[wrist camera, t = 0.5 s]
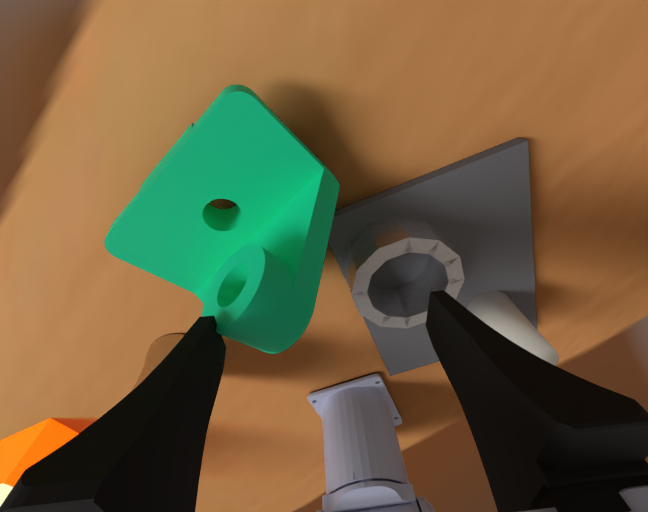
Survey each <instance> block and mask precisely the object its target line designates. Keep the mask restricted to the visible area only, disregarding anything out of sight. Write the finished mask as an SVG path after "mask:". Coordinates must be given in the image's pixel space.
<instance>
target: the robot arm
mask: <svg viewBox="0 0 648 512" xmlns="http://www.w3.org/2000/svg"><path fill="white" fill-rule="evenodd" d="M216 328H217V322H216V320H215V317H214V315H213V316H204V317H199V319H198V320H197V321H196V322H195V323H194V324H193V326H192V327H191V328H190V329H189V330H188V332H187V333H186V334H185V335H184V336H183V338H182V339H181V340H180V341H179V342H178V343H177V345H176V346H175V347H174V348H173V349H172V350H171V351H170V353H169V354H168V355H167V356H166V357H165V358H164V359H163V360H162V361H161V363H160V364H159V365H158V366H157V367H156V368H155V369H154V370H153V371H152V372H151V373H150V374H149V375H148V376H147V377H146V378H145V379H144V380H143V381H142V382H141V383H140V384H139V385H138V386H137V387H136V388H135V389H134V390H132V391H131V392H130V393H129V394H128V395H127V396H126V397H125V398H124V399H122V400H121V401H120V402H119V403H118V404H116V405H115V406H114V407H113V408H112V409H110V410H109V411H108V412H107V413H105V414H104V415H103V416H102V417H101V418H99V419H98V420H97V421H96V422H94V423H93V424H92V425H90V426H89V427H88V428H86V429H85V430H84V431H82V432H81V433H79V434H78V435H77V436H75V437H74V438H72V439H71V440H70V441H68V442H67V443H65V444H64V445H62V446H61V447H59V448H58V449H56V450H55V451H53V452H52V453H50V454H49V455H47V456H46V457H44V458H43V459H41V460H40V461H38V462H37V463H35V464H33V465H32V466H30V467H29V468H27V469H25V471H24V472H23V474H22V475H21V476H20V478H19V479H18V481H17V482H16V484H15V485H14V487H13V488H12V490H11V491H10V493H9V494H8V496H7V497H6V499H5V500H4V502H3V503H2V505H1V506H0V512H195V507H196V499H197V491H198V483H199V476H200V470H201V463H202V456H203V450H204V445H205V439H206V433H207V429H208V424H209V420H210V416H211V413H212V409H213V406H214V402H215V398H216V395H217V391H218V387H219V384H220V380H221V376H222V372H223V367H224V360H225V352H226V346H225V344H224V341H223V338H222V336H221V335H220V334H219V333H217V332H216ZM426 328H427V331H428V334H429V337H430V340H431V343H432V346H433V348H434V350H435V352H436V354H437V356H438V358H439V360H440V362H441V364H442V366H443V368H444V370H445V372H446V374H447V376H448V378H449V380H450V382H451V384H452V386H453V388H454V390H455V392H456V394H457V396H458V399H459V401H460V403H461V406H462V408H463V411H464V413H465V416H466V419H467V421H468V424H469V426H470V429H471V431H472V435H473V437H474V440H475V442H476V446H477V448H478V451H479V454H480V457H481V460H482V463H483V466H484V469H485V472H486V475H487V478H488V481H489V484H490V487H491V491H492V494H493V497H494V500H495V503H496V506H497V510H498V512H648V463H647V462H646V461H645V460H644V459H645V458H646V457H647V456H648V412H647V411H646V410H645V409H644V408H643V407H642V406H641V405H640V404H639V403H638V402H636V401H635V400H634V399H631V398H629V397H626V396H624V395H621V394H619V393H616V392H613V391H611V390H608V389H606V388H603V387H600V386H598V385H596V384H593V383H591V382H589V381H587V380H584V379H582V378H580V377H578V376H575V375H573V374H571V373H569V372H567V371H565V370H563V369H561V368H559V367H557V366H555V365H553V364H551V363H549V362H547V361H545V360H543V359H541V358H539V357H537V356H536V355H534V354H532V353H530V352H529V351H527V350H525V349H524V348H522V347H520V346H519V345H517V344H515V343H514V342H512V341H511V340H509V339H507V338H506V337H504V336H503V335H502V334H500V333H499V332H497V331H496V330H494V329H493V328H491V327H490V326H489V325H487V324H486V323H485V322H483V321H482V320H480V319H479V318H478V317H477V316H475V315H474V314H473V313H471V312H470V311H469V310H468V309H466V308H465V307H464V306H463V305H461V304H460V303H459V302H458V301H457V300H455V299H454V298H453V297H452V296H450V295H449V294H448V293H447V292H445V291H444V290H441V291H432V292H430V295H429V303H428V311H427V319H426ZM308 400H309V402H310V403H311V405H312V406H313V407H314V409H315V410H316V411H317V413H318V414H319V415H320V417H321V418H322V421H323V440H324V460H325V479H326V495H323V497H322V498H323V510H317V511H316V512H435V510H434V508H433V506H432V505H431V504H430V503H429V502H428V501H427V500H426V499H425V498H424V497H423V496H418V497H416V498H415V494H414V490H413V486H412V484H411V483H410V484H409V483H408V478H407V474H406V470H405V466H404V462H403V458H402V454H401V450H400V446H399V442H398V438H397V434H396V430H395V426H397V425H400V424H402V419H401V416H400V414H399V412H398V410H397V408H396V406H395V404H394V402H393V400H392V398H391V396H390V394H389V392H388V390H387V388H386V386H385V384H384V382H383V380H382V378H381V376H380V374H372V375H369V376H366V377H362V378H359V379H356V380H353V381H349V382H346V383H343V384H339V385H336V386H333V387H330V388H326V389H323V390H320V391H317V392H313V393H310V394H309V395H308Z"/></svg>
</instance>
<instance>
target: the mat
mask: <svg viewBox="0 0 648 512" xmlns="http://www.w3.org/2000/svg"><path fill="white" fill-rule="evenodd" d="M392 214H403V215H412V216H421V217H422V218H423V219H425V220H426V221H427V222H428V223H430V224H431V225H432V226H433V227H435V228H436V229H437V230H438V231H439V232H440V233H441V234H442V235H443V237H444V238H445V239H446V240H447V241H448V243H449V244H450V245H451V246H452V247H453V249H454V250H455V251H456V252H457V254H458V255H459V256H460V259H461V264H462V269H463V274H464V279H465V280H464V282H463V285H462V287H461V289H460V291H459V293H458V296H457V298H456V300H457V301H458V302H459V303H460V304H461V305H463V306H464V307H465V308H467V305H468V304H469V302H470V301H471V300H472V299H473V298H474V297H476V296H477V295H479V294H481V293H484V292H487V291H500V292H503V293H504V294H506V295H507V297H508V298H509V299H510V300H511V301H512V302H513V303H514V304H515V306H516V307H517V308H518V309H519V310H520V311H521V312H522V314H523V315H524V316H525V317H526V318H527V319H528V320H529V321H530V323H531V324H532V325H533V326H534V327H535V328H536V329H537V312H536V292H535V272H534V252H533V232H532V212H531V192H530V172H529V152H528V140H525V139H522V138H519V137H518V138H515V139H513V140H510V141H508V142H505V143H503V144H500V145H498V146H495V147H493V148H490V149H488V150H485V151H483V152H480V153H478V154H475V155H473V156H470V157H468V158H465V159H463V160H460V161H458V162H455V163H453V164H450V165H448V166H445V167H443V168H440V169H438V170H435V171H433V172H430V173H428V174H425V175H423V176H420V177H418V178H415V179H413V180H410V181H408V182H405V183H403V184H400V185H398V186H395V187H393V188H390V189H388V190H385V191H383V192H380V193H378V194H375V195H373V196H370V197H368V198H365V199H363V200H360V201H358V202H355V203H353V204H350V205H348V206H345V207H343V208H340V209H338V210H335V212H334V217H333V221H332V226H331V231H330V236H329V240H328V242H329V244H330V246H331V249H332V251H333V253H334V255H335V257H336V259H337V262H338V264H339V266H340V268H341V270H342V272H343V275H344V277H345V279H346V281H347V283H348V285H349V281H348V277H347V272H346V267H345V264H346V259H347V254H348V250H349V245H350V243H351V241H352V240H353V239H354V238H355V237H356V236H357V235H358V234H359V233H360V232H361V230H362V229H363V228H364V227H365V226H366V225H367V224H368V223H371V222H374V221H376V220H379V219H381V218H384V217H387V216H389V215H392ZM429 256H430V254H421V253H411V252H408V253H405V254H402V255H400V256H397V257H394V258H391V259H389V260H386V261H385V262H384V263H383V264H382V265H381V266H380V267H379V268H378V269H377V270H376V271H375V272H374V273H373V274H372V275H371V279H370V281H371V282H372V283H374V284H375V285H377V286H384V287H397V286H400V285H403V284H406V283H409V282H412V281H413V280H414V279H415V278H416V277H417V276H418V275H419V274H420V273H421V272H423V271H424V270H425V267H426V264H427V262H428V259H429ZM349 288H350V286H349ZM363 318H364V320H365V322H366V324H367V327H368V329H369V331H370V333H371V335H372V337H373V340H374V342H375V344H376V346H377V348H378V350H379V353H380V355H381V357H382V359H383V361H384V363H385V366H386V368H387V370H388V372H389V374H390V376H392V375H395V374H398V373H402V372H405V371H408V370H412V369H415V368H418V367H422V366H425V365H428V364H431V363H435V362H438V361H440V360H439V358H438V356H437V354H436V352H435V350H434V348H433V346H432V343H431V340H430V337H429V334H428V331H427V328H426V322H425V323H422V324H419V325H416V326H413V327H410V328H393V327H380V326H379V325H377V324H375V323H374V322H372V321H370V320H368V319H367V318H365V317H363Z"/></svg>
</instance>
